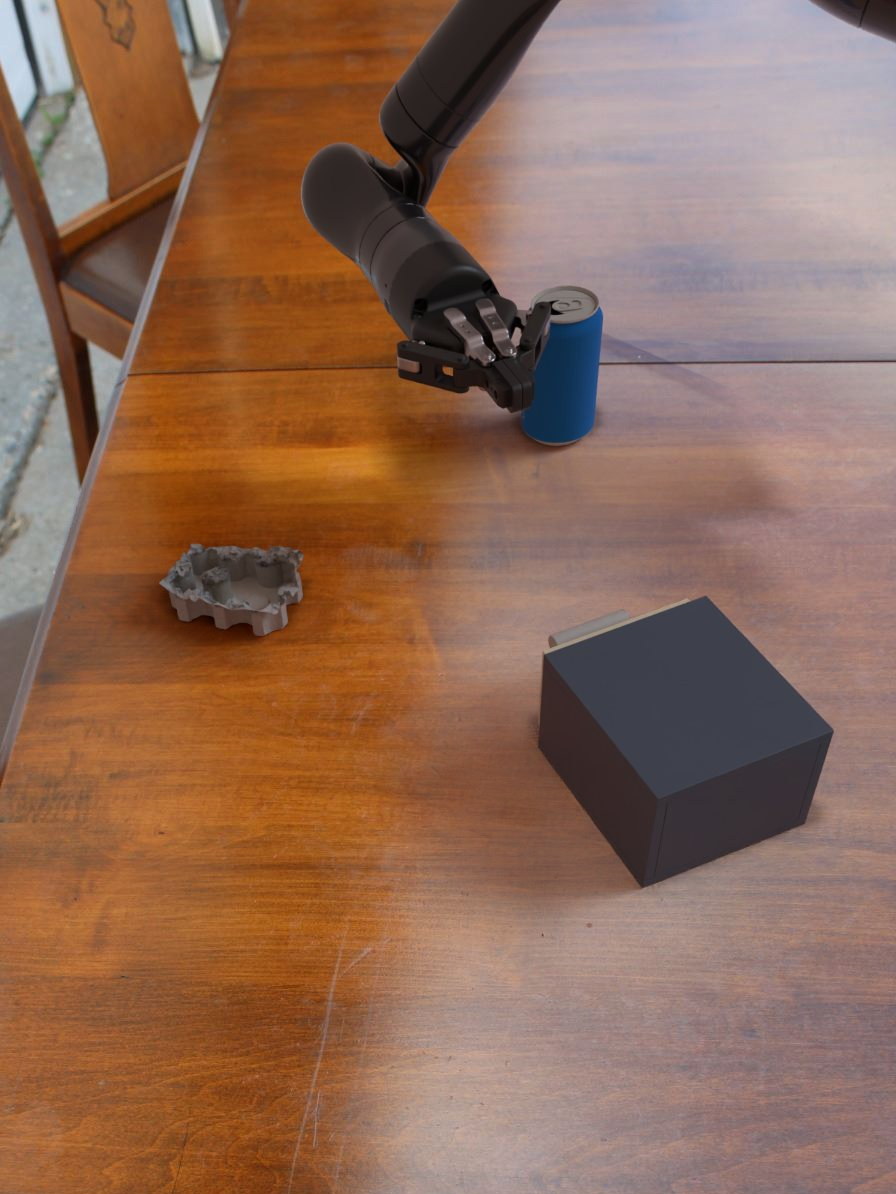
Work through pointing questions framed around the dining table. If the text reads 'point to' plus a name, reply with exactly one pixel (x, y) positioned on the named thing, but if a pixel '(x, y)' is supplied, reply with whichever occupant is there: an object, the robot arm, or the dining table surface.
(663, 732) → the cabinet
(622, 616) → the drawer
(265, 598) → the egg carton
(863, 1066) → the dining table surface
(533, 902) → the dining table surface
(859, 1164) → the dining table surface
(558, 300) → the beverage can
